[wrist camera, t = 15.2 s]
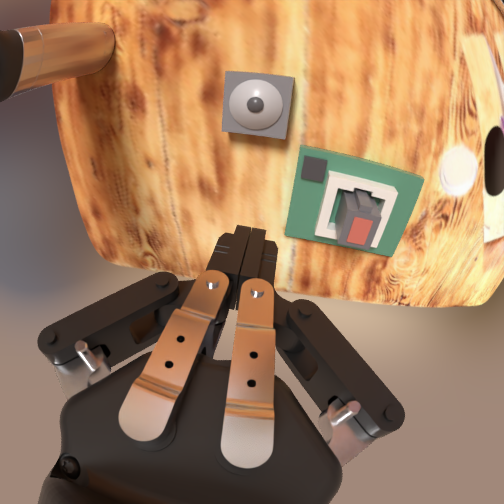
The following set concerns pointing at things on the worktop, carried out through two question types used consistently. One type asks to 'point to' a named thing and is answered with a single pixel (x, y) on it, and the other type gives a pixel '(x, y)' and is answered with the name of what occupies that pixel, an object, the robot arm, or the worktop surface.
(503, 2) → the multiport hub
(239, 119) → the grey square domed block
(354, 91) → the worktop surface
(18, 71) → the robot arm
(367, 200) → the keyed plug
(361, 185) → the circuit board
